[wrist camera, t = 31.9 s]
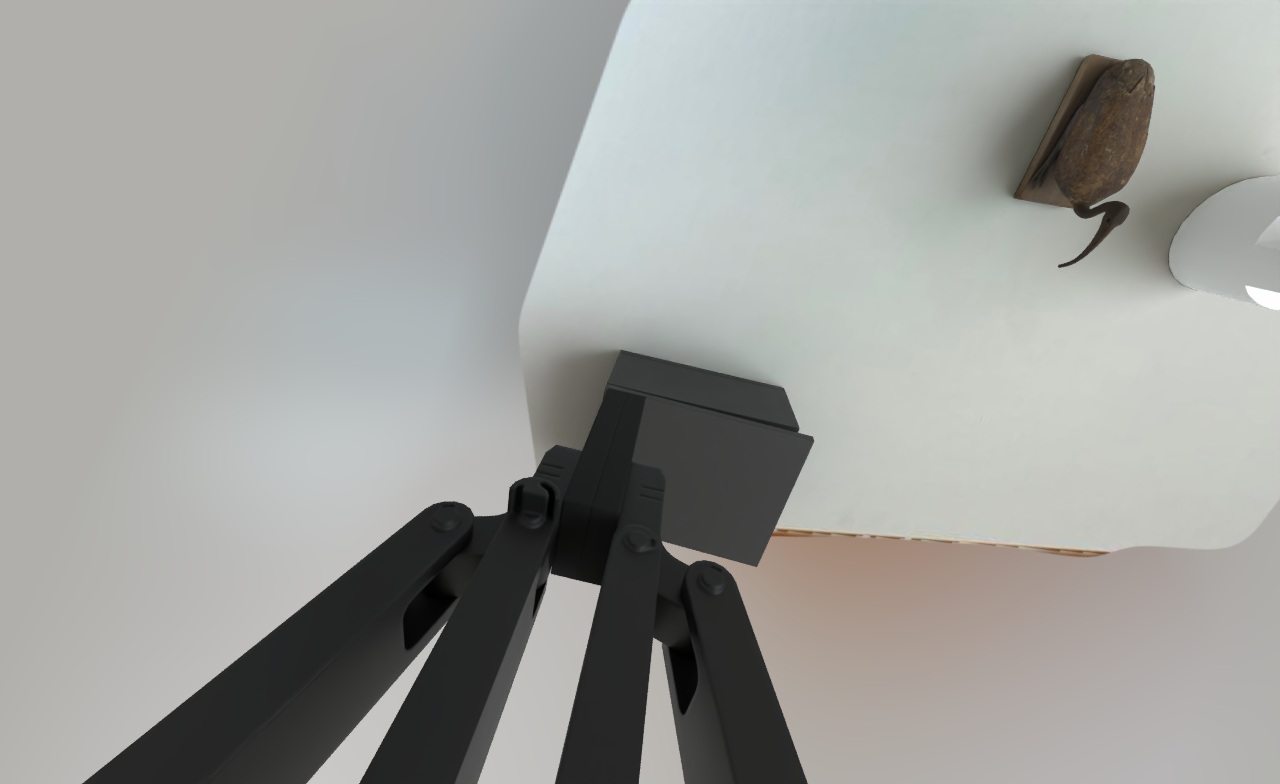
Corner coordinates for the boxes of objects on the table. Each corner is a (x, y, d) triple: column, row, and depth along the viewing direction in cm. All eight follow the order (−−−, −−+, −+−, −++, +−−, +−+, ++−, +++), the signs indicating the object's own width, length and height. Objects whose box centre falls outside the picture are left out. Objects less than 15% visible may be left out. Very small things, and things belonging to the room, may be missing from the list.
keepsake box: (784, 387, 48) (799, 428, 41) (739, 500, 55) (746, 552, 48) (621, 349, 48) (607, 383, 41) (597, 467, 55) (582, 513, 48)
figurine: (1037, 259, 40) (1118, 281, 32) (986, 249, 40) (1055, 269, 32) (1145, 67, 34) (1278, 38, 26) (1083, 56, 34) (1198, 23, 26)
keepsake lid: (813, 436, 40) (814, 441, 39) (756, 561, 47) (757, 567, 46) (607, 383, 41) (605, 387, 40) (582, 513, 48) (580, 519, 47)
